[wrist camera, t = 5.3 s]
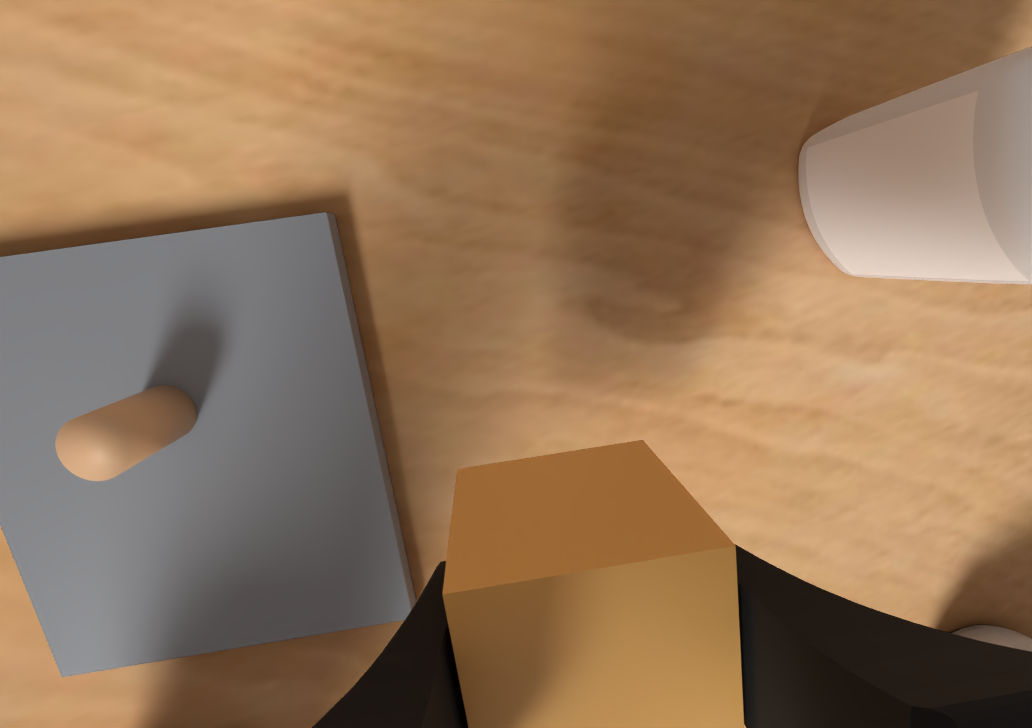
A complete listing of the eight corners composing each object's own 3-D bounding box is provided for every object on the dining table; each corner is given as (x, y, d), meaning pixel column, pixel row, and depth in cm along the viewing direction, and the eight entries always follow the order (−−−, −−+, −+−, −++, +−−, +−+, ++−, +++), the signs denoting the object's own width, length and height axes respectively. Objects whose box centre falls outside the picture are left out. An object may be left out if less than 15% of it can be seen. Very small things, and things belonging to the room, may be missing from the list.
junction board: (416, 602, 21) (399, 692, 17) (81, 657, 21) (-27, 765, 16) (335, 214, 18) (286, 200, 13) (-70, 270, 17) (-259, 274, 13)
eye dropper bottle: (779, 274, 19) (1241, 301, 8) (799, 117, 18) (1384, -141, 6) (885, 277, 20) (1490, 306, 8) (912, 122, 18) (1671, -116, 7)
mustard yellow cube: (656, 601, 14) (746, 777, 9) (485, 630, 14) (487, 825, 9) (642, 439, 13) (735, 545, 8) (457, 469, 13) (442, 594, 8)
